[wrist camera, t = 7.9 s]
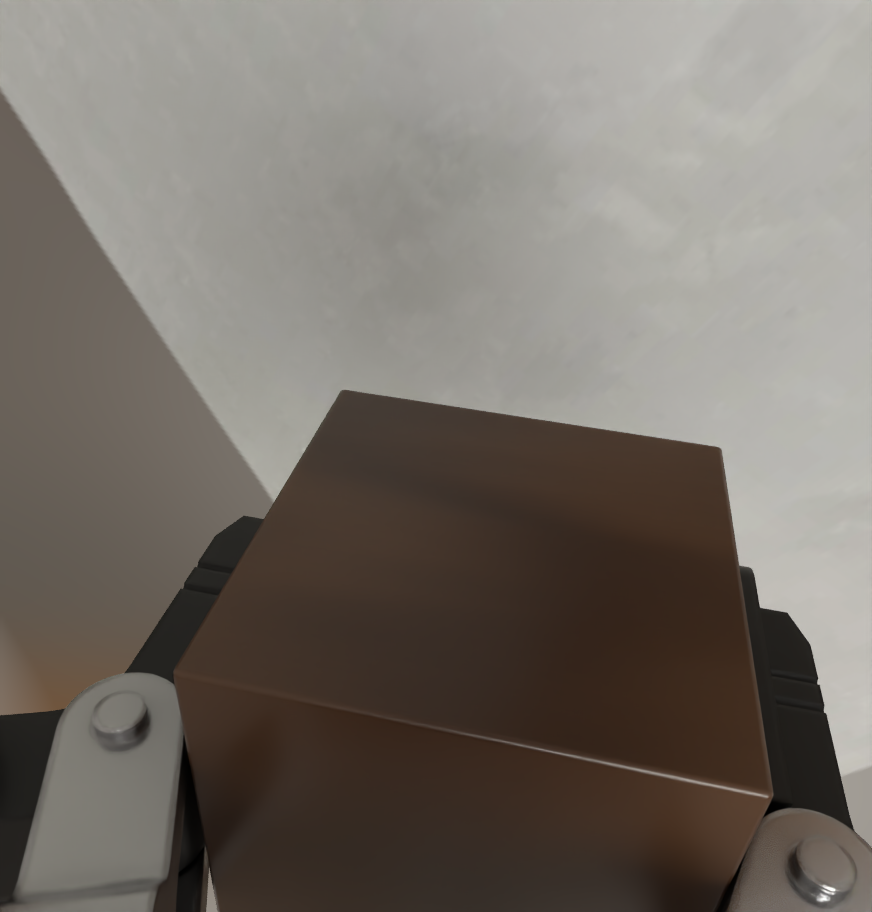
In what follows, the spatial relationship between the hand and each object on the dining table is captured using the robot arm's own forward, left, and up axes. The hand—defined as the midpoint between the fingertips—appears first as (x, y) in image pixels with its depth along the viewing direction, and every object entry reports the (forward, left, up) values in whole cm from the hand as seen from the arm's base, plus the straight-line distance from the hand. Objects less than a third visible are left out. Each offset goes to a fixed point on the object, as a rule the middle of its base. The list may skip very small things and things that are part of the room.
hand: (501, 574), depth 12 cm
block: (0, 0, 0) cm, 0 cm away
